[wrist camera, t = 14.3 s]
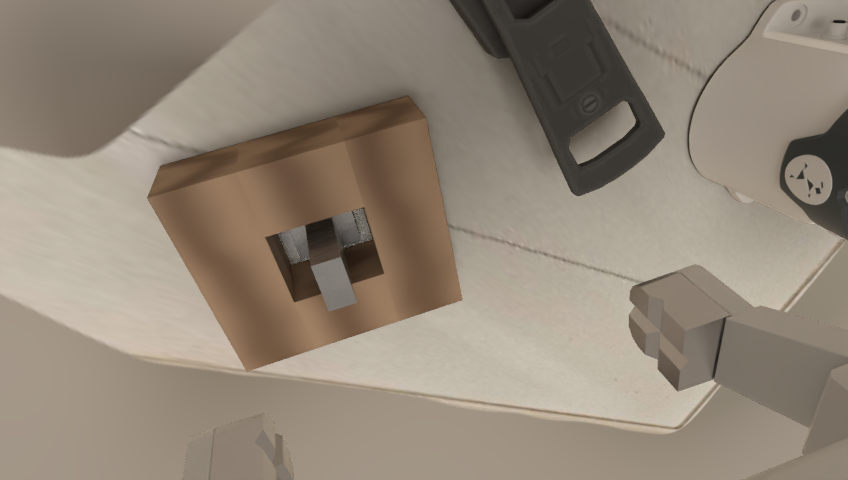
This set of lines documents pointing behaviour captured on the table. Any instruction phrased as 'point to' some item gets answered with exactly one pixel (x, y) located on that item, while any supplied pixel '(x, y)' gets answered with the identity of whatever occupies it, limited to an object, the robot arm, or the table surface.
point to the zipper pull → (567, 78)
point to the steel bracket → (329, 256)
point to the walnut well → (303, 204)
